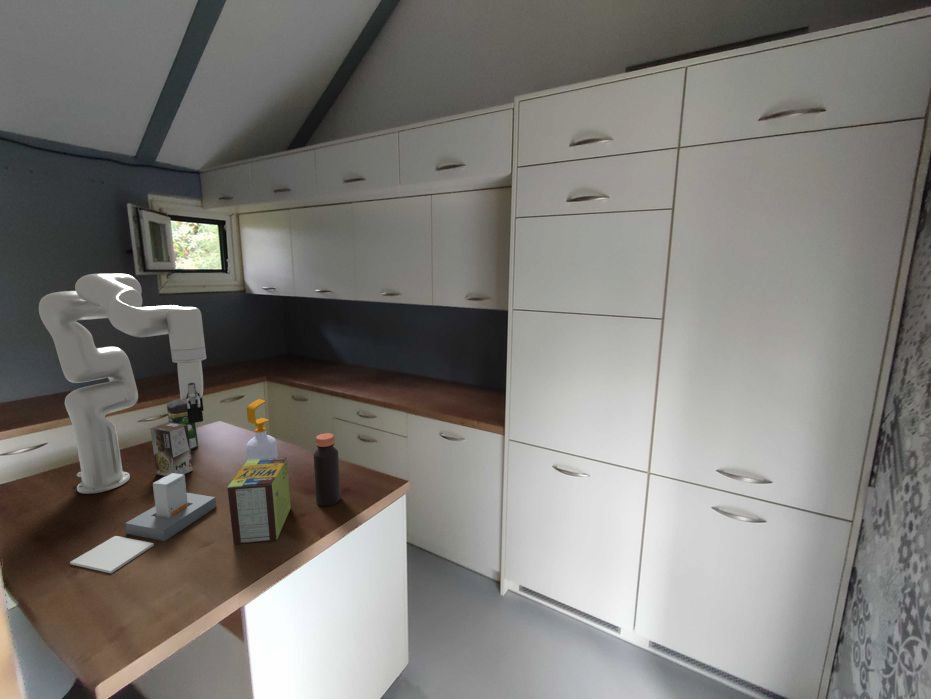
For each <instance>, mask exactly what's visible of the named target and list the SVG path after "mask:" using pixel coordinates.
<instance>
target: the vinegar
mask: <svg viewBox="0 0 931 699" xmlns="http://www.w3.org/2000/svg"><path fill="white" fill-rule="evenodd" d="M315 442H316V444H315V445H316V447H317V448H316V450H315V451H314V453H313V465H314V466H313V469H314V484H315V500H316V504H317V505H319V506H321V507H330V506H333V505H336V504H337V503H339V502H340V500H341V483H340V482H341V481H340V463H339V462H340V461H339V450H338V449H337V448H336V447H334V445H335V435H334V434H333V433H329V432H326V433H322V434H318V435H316V436H315Z"/></svg>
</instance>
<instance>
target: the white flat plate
mask: <svg viewBox="0 0 931 699" xmlns="http://www.w3.org/2000/svg"><path fill="white" fill-rule="evenodd" d="M154 544H155V543H154V542H149V541H145V540H140V539H139V540H138V539H135V538H134V539H133V538H129V537H128V538H127V537H123V536H118V535H115V536H112V537H110V538H109V539H107V540H105V541H103V542H102V543H100V544H98V545H96V546H95V547H93V548H92V549H90V550H88V551H86V552H84V553H83V554H81V555H80V556H78V557H77V558H74V559H73V560H71V561H70V562H69V564H70V565H71V566H76V567H81V568H84V569H85V568H86V569H90V570H95V571H99V572H103V573H108V574H113V573H114V572H116V571H117V570H119V569H120V568H122V567H123V566H125V565H126V564H128V563H130V562H131V561H133V560H134V559H136V558H137V557H139V556H140V555H141V554H143V553H144V552H146V551H147V550H149V549H151V548H152V547H154V546H155V545H154Z"/></svg>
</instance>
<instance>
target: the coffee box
mask: <svg viewBox="0 0 931 699" xmlns="http://www.w3.org/2000/svg"><path fill="white" fill-rule="evenodd" d="M149 430H150V437H151V443H152V450H153V457H154V463H155V464H154V465H155V470H156V475H159V476H163V477H165V476H168V475H170V474H172V473H176V474H183V475H185V474H188V473H190V472H193V470H194V468H193V459H192V452H191V450H192V449H191V450H190V442H189V433H188V425H185V424H178V423H171V422H169V421H168V422H165V423H160V424H159V425H156V426H154V427H151V428H150V429H149Z"/></svg>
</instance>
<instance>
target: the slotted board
mask: <svg viewBox="0 0 931 699" xmlns="http://www.w3.org/2000/svg"><path fill="white" fill-rule="evenodd" d="M186 493H187V502H188V507H187V508H185V509H183V510H182V511H180V512H179V513H177V514H175V515H174V516H172V517H170V518H169V519H166V518H161V517H157V515H156V507H155V506H152V508H150V509H148V510H145V511H144V512H142V513H141V514H139V515H137V516H135V517H133V518H132V519H130V520H128V521H126V522H125V523H124V524H125V531H126V534H127V535H130V536H135V537H142V538H147V539H152V540H156V541H157V540H158V541H162V542H165V541H167V540H168V539H170V538H172V537H173V536H175V535H176V534H178V533H179V532H181V531H182V530H184V529H185V528H187V527H188V526H189V525H191V524H193V523H194V522H196V521H197V520H199V519H200V518H202V517H203V516H205V515H206V514H207V513H209V512H211V511H212V510H214V509H215V508H217V500H216V496H210V495H205V494H197V493H193V492H186Z"/></svg>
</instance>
